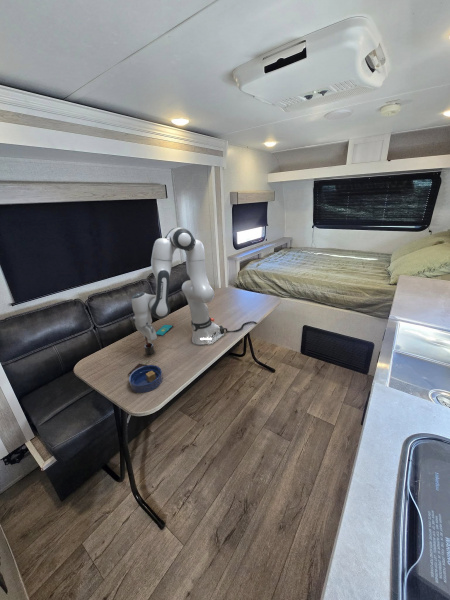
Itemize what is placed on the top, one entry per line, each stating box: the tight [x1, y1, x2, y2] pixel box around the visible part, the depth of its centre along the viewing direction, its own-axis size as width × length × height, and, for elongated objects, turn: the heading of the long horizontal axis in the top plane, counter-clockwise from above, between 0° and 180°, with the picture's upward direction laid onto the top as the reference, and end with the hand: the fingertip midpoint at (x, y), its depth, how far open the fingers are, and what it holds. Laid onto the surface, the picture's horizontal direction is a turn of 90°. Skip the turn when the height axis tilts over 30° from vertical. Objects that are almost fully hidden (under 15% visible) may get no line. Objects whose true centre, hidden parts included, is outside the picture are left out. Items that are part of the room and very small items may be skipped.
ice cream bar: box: [127, 359, 150, 376], centre depth 131 cm, size 5×2×15 cm
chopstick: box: [144, 337, 152, 347], centre depth 142 cm, size 2×2×15 cm
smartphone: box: [155, 324, 174, 337], centre depth 171 cm, size 7×1×15 cm
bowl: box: [128, 364, 164, 394], centre depth 120 cm, size 16×16×5 cm
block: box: [146, 371, 156, 382], centre depth 122 cm, size 4×4×4 cm
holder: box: [143, 342, 155, 357], centre depth 144 cm, size 5×5×6 cm
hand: (148, 341), depth 142 cm, fingers closed on chopstick, 2 cm apart
